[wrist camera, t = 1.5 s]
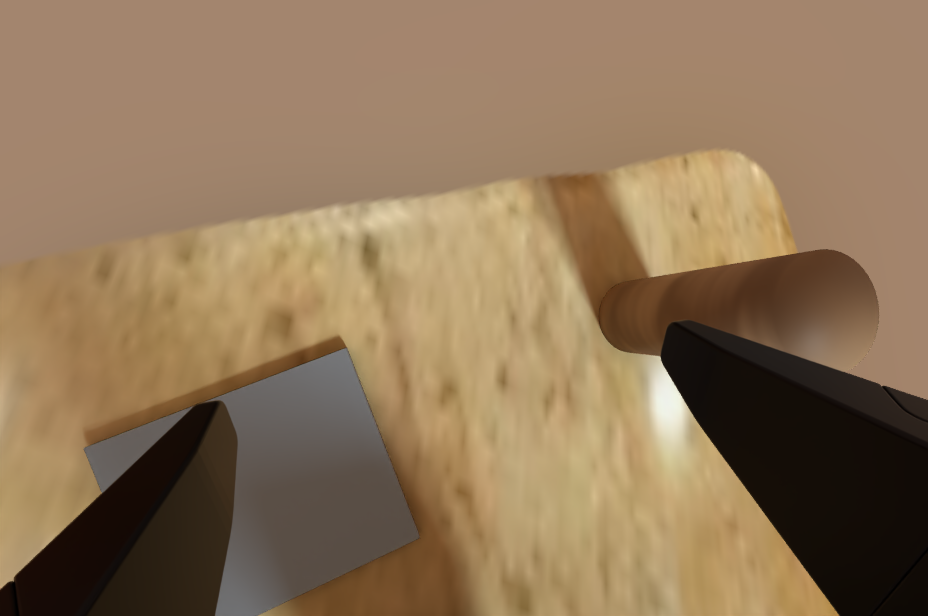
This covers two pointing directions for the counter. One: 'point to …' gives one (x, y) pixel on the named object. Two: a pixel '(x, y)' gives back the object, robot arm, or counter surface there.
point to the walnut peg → (755, 306)
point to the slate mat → (293, 483)
